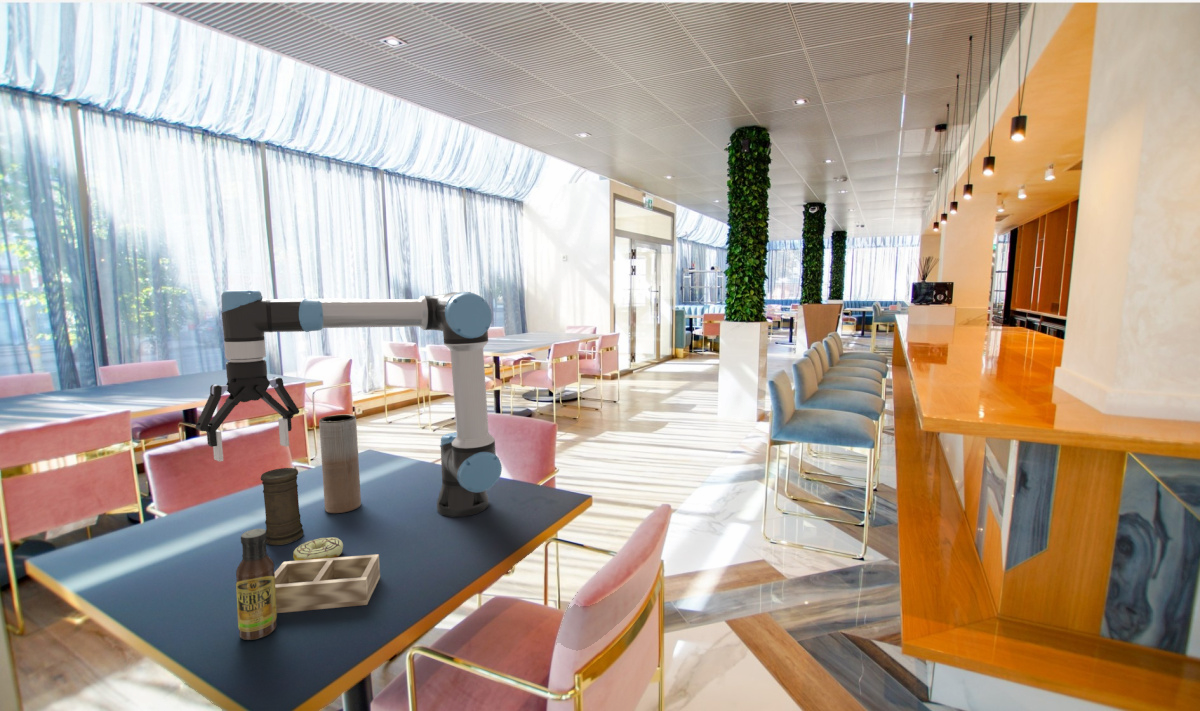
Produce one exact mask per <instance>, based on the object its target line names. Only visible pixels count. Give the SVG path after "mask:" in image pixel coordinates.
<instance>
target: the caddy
mask: <svg viewBox="0 0 1200 711" xmlns="http://www.w3.org/2000/svg"><path fill="white" fill-rule="evenodd" d="M380 568H381V567H380V554H376V553H375V554H365V555H351V556H338V557H337V558H324V559H312V560H299V561H295V560H289V561H283V562H282V563H281V564H280V565H279V567H278V568H277V569H276V570H274V574H275V591H276V613H277V614H280V613H293V612H304V611H313V610H315V611H316V610H324V609H325V610H326V609H327V610H328V609H335V608H345V607H357V606H367V605H368V604H369V601H370V599H371V597H372V595H373V594H374V591H375V589H376V587H377V584H378V583H379V580H380V578H381V570H380Z"/></svg>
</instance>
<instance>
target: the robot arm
mask: <svg viewBox="0 0 1200 711" xmlns="http://www.w3.org/2000/svg"><path fill="white" fill-rule="evenodd" d="M220 299H221V301H220V302H221V321H222V322H221V323H222V330H223V331H222V332H223V339H224V340H223V341H224V342H223V344H224V356H225V359H226V360H228V361H226V363H225V368H226V369H225V370H226V378H227V381H226V384H221V385H220V384H219V385H218V384H211V385H210V387H209V388H210V389H209V390H210V391H209V396H208V398H207V400H206V403H205V405H204V407H203V409H202V411H201V413H200V416H199V418H198V420H197V422H196V424H195V426H194V427H195V429H196V430H198V431H200V432H201V431H202V432H206V439H207V445H208V446H209V447H211V448H213V449H212V451H213V459H214V460H215V461H217V462H224V461H225V460H224V452H223V451H224V450H223V439H222V431H221V430H219V428H220V426H221V425H223V422H224V421H225V420H226V419H227V418H228V416H229V415H230V413H231V412H232V411H233V409H234V408H235V407H236V406H238V405H239V404H240V402H241V403H248V402H250V401H254V402H255V401H260V400H262V401H264V402H265V403H266V404H267V405H268V406H270V407H271V408H272V409H273V410H274V411H276V413H278V414H279V415H280V416H281V417H278V419H277V420H278V432H279V435H278V436H279V445H280V446H282V447H283V446H284V447H289V446H290V439H289V432H291V431H292V428H293V426H292V419H293V418H294V415H298V414H299V413H300V410H299V407H298V406H297V405H296V403H295V401H294V400H293V398H292V397H291V396H290V394H289V392H288V390H287V389H286V388H285V385H284V380H283V378H282V377H277V376H274V377H272V378H270V379H268V368H267V367H268V366H267V361H266V360H265V357H266V356H267V355H266V354H267V351H266V342H265V340H266V338H265V333H284V332H285V333H286V332H287V333H292V332H295V333H298V332H306V333H309V332H316V331H322V329H338V328H339V329H344V328H345V329H346V328H347V329H348V328H349V329H351V328H354V329H355V328H403V327H404V328H405V327H407V328H408V327H411V328H413V327H416V328H417V327H419V328H420V329H421V330H423V331H439V332H442V336H443V345H444V346H446V347H447V348H448V349H449V350H450V351H449V352H450V362H451V365H450V366H451V376H452V387H453V388H452V390H453V400H454V401H453V402H454V415H455V428H456V429H455V432H449V433H446V434H443V435H442V436H441V438H440V445H439V447H440V460H441V461H440V463H441V478H442V479H441V488H440V490H439V495H438V498H437V500H436V511H437V512H438V514H440V515H442V516H445V517H452V518H460V517H461V518H462V517H468V516H469V517H470V516H473V515H477V514H479V513H481V512H483V511H485V510H486V509H487V508H488V507H489V495H488V493H487V491H488V490H490V489H492V487H494V486H495V485H496V484H497V482H498V481H499V479H500V477H501V475H502V468H503V467H502V463H501V460H500V458H499V457H498V456H497V454H496V441H495V440H496V438H495V437H494V436H493V435H492V434H490V432H489V421H488V420H489V418H488V417H489V416H488V403H487V402H488V401H487V400H488V399H487V389H486V386H487V385H486V373H485V360H484V359H485V358H484V347H485V346H486V345H487V344H488V343H489V331H488V330H490V326H491V324H492V320H493V313H492V309H491V307H490V305H489V303H488V302H487V300H486V299H484V297H482V296H480V295H479V294H477V293H474V292H470V291H461V292H449V293H443V294H437V295H436V294H435V295H421V296H420V297H419V298H418V299H416V298H413V299H411V298H410V299H408V298H407V299H406V298H404V299H402V298H401V299H399V298H397V299H396V298H395V299H393V298H392V299H391V298H387V299H386V298H385V299H384V298H381V299H380V298H379V299H378V298H296V297H293V298H292V297H290V298H289V297H288V298H282V299H281V298H280V299H279V298H278V299H277V298H272V299H271V298H264V297H263V295H262V292H261V291H260V290H245V289H244V290H241V289H239V290H238V289H237V290H236V289H235V290H234V289H233V290H231V289H230V290H229V289H228V290H225V291H223V292H222V293H221V298H220ZM270 386H271V388H273V389H274V390H275V392H276V394H277V395H278V396H279V398H280V400H281V401H282V403H283V404H284V406H283V405H282V404H281V403H280V402H278V401H277V400H276V399H275V398H274V397H273V396H272V395H271V394H270V393H269V392H268V391H267V390H268V388H269V387H270ZM225 392H227V393H228V394H229V395H228V396H227V398H226V399H225V401H224V403H223V404H222V406H221V407H220V408H219V410H217V412H216V409H217V407H218V405H219V402H220V400H221V397H222V396H223V395H224V393H225ZM286 408H287V409H286ZM215 412H216V413H215ZM214 414H215V415H214Z"/></svg>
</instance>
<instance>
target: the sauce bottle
mask: <svg viewBox="0 0 1200 711" xmlns="http://www.w3.org/2000/svg"><path fill="white" fill-rule="evenodd" d="M266 538H267V534H266V529H265V528H254V529H250V530H246V531H244V532H243V533H242V534H241V535H240V543H241V545H242V556H241V557H242V560H241V561H240V563H239V565H238V567H237V568H236V571H235V575H236V576H235V577H236V582H235V587H236V589H235V590H236V592H235V593H236V608H237V628H238V636H239V638H240V639H243V640H245V641H246V640H247V641H249V640H250V641H252V640H253V641H254V640H259V639H262V638H264V637H266V636H269V635H271V634H272V632H273V631H275V630H276V628H277V616H278V613H276V591H275V574H274V572H275V564H274V561H273V559H272V558H271V557H270V556H269V555H268V554H267V552H268V550H267V543H266Z"/></svg>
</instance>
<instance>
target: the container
mask: <svg viewBox="0 0 1200 711" xmlns="http://www.w3.org/2000/svg"><path fill="white" fill-rule="evenodd" d="M298 475H299V471H298V469H297V468H293V467H283V468H282V467H281V468H275V469H271V470H268V471H266V472H263V473H262V474H261V476H260V481H261V484H262V485H263V491H262V493H263V498H264V501H263V502H264V510H265V530H266V534H267V538H266V545H269V546H283V545H287V544H292V543H293V542H296V541H298V540H300V539H301V538H302V537H303V536H304V533H305V532H304V529H303V524H302V521H301V513H300V506H299V505H300V503H299V492H298V491H299V490H298V487H299V485H298V481H297V480H298Z"/></svg>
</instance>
